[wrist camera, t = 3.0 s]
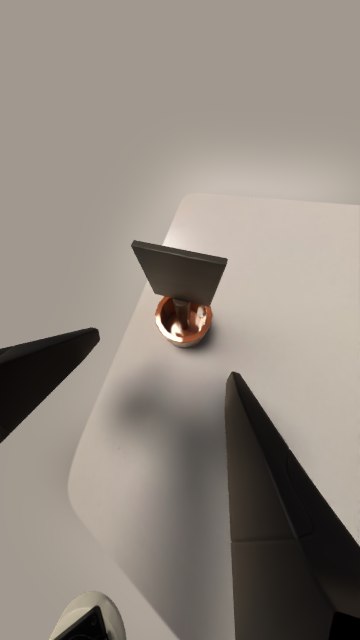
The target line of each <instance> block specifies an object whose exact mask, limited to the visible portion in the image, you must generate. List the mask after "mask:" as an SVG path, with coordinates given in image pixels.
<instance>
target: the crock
mask: <svg viewBox="0 0 360 640" xmlns="http://www.w3.org/2000/svg"><path fill="white" fill-rule="evenodd" d="M155 317H156V324H157V326H158V328H159V330H160V332H161V333H162V334H163V335H164V336H165V337H166V338H167V339H168V340H169V341H170V342H171V343H173V344H174V345H176V346H179V347H190V346H193V345H195V344H197V343H198V342H200V341H201V339H202V338H203V336H204V335H205V333H206V332H207V330H208V329H209V327H210V325H211V320H212V311H211V307H206V306H202V305H198V304H194V303H190V326H189V328H188V329H187V330H182V329H181V328H180V326H179V322H178V318H177V314H176V310H175V306H174V302H173V298H170V297H166V296H164V298H163V299H162V300H161V301H160V302H159V304H158V306H157V310H156V313H155Z"/></svg>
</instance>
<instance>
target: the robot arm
mask: <svg viewBox="0 0 360 640" xmlns="http://www.w3.org/2000/svg"><path fill="white" fill-rule="evenodd" d="M99 340H100V337H99V331H98V329H96V328H87V329H82V330H78V331H74V332H70V333H66V334H61V335H57V336H53V337H49V338H45V339H40V340H36V341H32V342H28V343H23V344H19V345H15V346H11V347H7V348H2V349H0V443H1V442H2V441H3V440H4V439H5V438H6V437H7V436H8V435H9V434H10V433H11V432H12V431H13V430H14V429H15V428H16V427H17V426H18V425H19V424H20V423H21V422H22V421H23V420H24V419H25V418H26V417H27V416H28V415H29V414H30V413H31V412H32V411H33V410H34V409H35V408H36V407H37V406H38V405H39V404H40V403H41V402H42V401H43V400H44V399H45V398H46V397H47V396H48V395H49V394H50V393H51V392H52V391H53V390H54V389H55V388H56V387H57V386H58V385H59V384H60V383H61V382H62V381H63V380H64V379H65V378H66V377H67V376H68V375H69V374H70V373H71V372H72V371H73V370H74V369H75V368H76V367H77V366H78V365H79V364H80V363H81V362H82V361H83V360H84V359H85V358H86V357H87V355H88V354H89V353H90V352H91V350H92V349H93V348H94V347H95V346H96V345H97V343H98V342H99ZM225 430H226V450H227V471H228V492H229V513H230V534H231V557H232V578H233V599H234V620H235V640H360V546H359V545H358V544H357V542H356V541H355V540H354V538H353V537H352V535H351V534H350V533H349V531H348V530H347V529H346V527H345V526H344V525H343V523H342V522H341V521H340V519H339V518H338V517H337V515H336V514H335V512H334V511H333V510H332V508H331V507H330V506H329V504H328V503H327V502H326V500H325V499H324V497H323V496H322V495H321V493H320V492H319V490H318V489H317V488H316V486H315V485H314V484H313V482H312V481H311V479H310V478H309V476H308V475H307V473H306V472H305V471H304V469H303V468H302V466H301V465H300V463H299V462H298V460H297V459H296V457H295V456H294V454H293V453H292V451H291V450H290V449H289V447H288V445H287V444H286V442H285V441H284V439H283V438H282V436H281V435H280V433H279V432H278V430H277V429H276V427H275V426H274V424H273V423H272V421H271V420H270V418H269V417H268V415H267V414H266V412H265V411H264V409H263V408H262V406H261V405H260V403H259V402H258V400H257V399H256V397H255V396H254V394H253V393H252V391H251V390H250V388H249V387H248V385H247V384H246V382H245V381H244V379H243V378H242V376H241V375H240V374H239V373H236V372H231V374H230V376H229V378H228V379H227V382H226V396H225ZM53 640H109V639H108V635H107V631H106V627H105V623H104V619H103V615H102V611H101V608H100V607H99V606H98V605H96V606H94V607H93V608H92V609H91V610H89V611H88V612H87V613H86V614H84V615H83V616H82V617H81V618H79V619H78V620H77V621H76V622H74V623H73V624H72V625H71V626H70V627H68V628H67V629H66V630H65V631H63V632H62V633H61V634H60V635H58V636H57V637H56V638H55V639H53Z"/></svg>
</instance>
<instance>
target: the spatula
mask: <svg viewBox="0 0 360 640" xmlns="http://www.w3.org/2000/svg"><path fill="white" fill-rule="evenodd" d="M131 247H132V249H133V251H134V253H135V255H136V257H137V259H138V261H139V263H140V265H141V267H142V269H143V270H144V273H145V275H146V277H147V279H148V281H149V283H150V285H151V287H152V289H153V291H154V293H155V294H159V295H163V296H166V297H170V298H173V302H174V306H175V310H176V314H177V318H178V322H179V326H180V328H181V329H182V330H187V329H188V328H189V326H190V303H194V304H198V305H202V306H206V307H210V304H211V302H212V299H213V297H214V294H215V292H216V289H217V287H218V285H219V282H220V280H221V277H222V275H223V272H224V270H225V267H226V264H227V260H228V259H227V258H221V257H216V256H211V255H206V254H201V253H196V252H191V251H186V250H181V249H176V248H171V247H166V246H161V245H155V244H150V243H145V242H140V241H135V240H134V241H133V243H132V245H131Z"/></svg>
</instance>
